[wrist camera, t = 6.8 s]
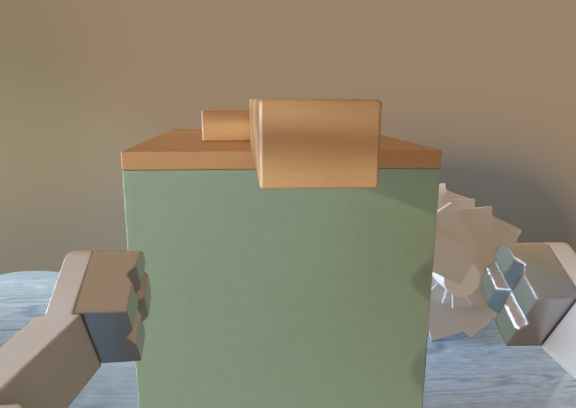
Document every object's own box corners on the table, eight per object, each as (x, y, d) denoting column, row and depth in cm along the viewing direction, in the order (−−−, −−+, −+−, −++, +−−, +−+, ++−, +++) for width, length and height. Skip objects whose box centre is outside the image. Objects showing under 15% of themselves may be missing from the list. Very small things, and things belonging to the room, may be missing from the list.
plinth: (407, 611, 27) (442, 150, 21) (153, 636, 26) (120, 151, 20) (349, 431, 42) (360, 129, 36) (185, 441, 40) (171, 129, 35)
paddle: (473, 187, 12) (481, 100, 12) (156, 191, 12) (151, 98, 11) (323, 130, 35) (324, 99, 34) (212, 130, 34) (211, 98, 33)
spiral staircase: (422, 299, 79) (494, 380, 54) (326, 256, 77) (356, 318, 52) (475, 200, 76) (576, 237, 52) (378, 153, 74) (435, 167, 50)
